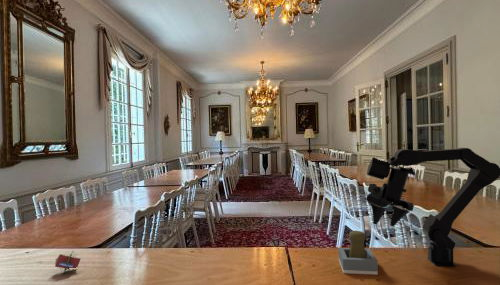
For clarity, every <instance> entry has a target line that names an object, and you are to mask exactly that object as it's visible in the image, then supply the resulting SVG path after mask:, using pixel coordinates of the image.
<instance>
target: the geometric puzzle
mask: <svg viewBox="0 0 500 285" xmlns="http://www.w3.org/2000/svg"><path fill="white" fill-rule="evenodd" d="M67 253H69V251H68V252H66V254H67ZM66 254H62V253H61V254H60V253H59V255H58V256H57V258H56V259H55V262H54V264H55V265H54V267H55V268H57V269H59V270H61V269H64V270H65V269H66V270H68V271H71V270H70V269H69V268H76V267H77V268H78V266H79V264H80V262H81V258H79V257H77V256H78V254H76V252H74V250H73V251H71V253H70V254H69V255H66ZM73 254H74V255H73ZM75 254H76V255H77V256H76V255H75ZM61 271H62V270H61Z"/></svg>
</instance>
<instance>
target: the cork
mask: <svg viewBox="0 0 500 285" xmlns="http://www.w3.org/2000/svg"><path fill="white" fill-rule="evenodd" d="M348 239H349V240H350V246H349V248H350V253H349V258H366V254H365V249H366V247H365V240H366V234H365V233H364V232H363V231H361V230H351V231H350V232H349V233H348Z"/></svg>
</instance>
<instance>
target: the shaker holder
mask: <svg viewBox="0 0 500 285" xmlns="http://www.w3.org/2000/svg"><path fill="white" fill-rule="evenodd" d="M349 253H350V247H338V261H339V265H340V267H341V270H342V273H343V274H354V275H355V274H356V275H379V273H378V272H379V270H378V269H379V268H378V267H379V266H378V265H379V263H378V262H379V261H378V259H377V258H376V255H375V254H374V253H373V252H372V250H371V248H365V254H366V258H349Z"/></svg>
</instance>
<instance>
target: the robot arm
mask: <svg viewBox="0 0 500 285" xmlns="http://www.w3.org/2000/svg"><path fill="white" fill-rule="evenodd" d="M459 160H460V161H461V162H462V163H463V164H464V165H465V166H466V167H468V168H469V169H470V170H469V171H468V173H467V177H466V181H465V183H463V184H462V186H461V187H460V188H459V189H458V190H457V191H456V193H455V194H454V195H453V197H452V198H451V199H450V200H449V201H448V203H447V204H446V205H445V206H444V207H443V209H442V210H441V211H440V212H439V213H437V214H436V215H434V214H432V213H429V215H428V216H427V218H426V219H425V220H424V221H422V224H423V225H422V232H423V234H424V235H425V236H426V237H427V238H428V239H429V241H431V242H429V246H428V248H427V251H428V252H427V259H428V260H429V261H430V262H431V263H432V264H433V265H434V266H438V267H439V266H440V267H441V266H442V267H456V266H457V264H456V263H454V249H455V246H456V242H455V241H454V240H452V239H451V238H450V237H449V235H450V233H451V230H452V227H453V224H454V222H455V221H456V219H457V218H458V217H459V216H460V214H461V213H463V211H464V210H465V209H466V208H467V207H468V206H469V204H470V203H471V202H472V201H473V199H474V198H475V197H476V196H477V195H478V193H479V192H480V191H481V190H482V189H484V188H486V187H489V185H492V184H493V183H494V182H495V181H497V180H498V179H499V178H500V166H499V164H497V163H495V162H490V161H489V160H487V159H485V158H484V157H482V156H481V155H479V154H477V153H476V152H475V151H473V150H472V149H471V148H468V147H459V148H447V149H433V150H432V149H430V150H418V149H417V150H415V149H406V148H400V149H398V150H396V151H395V152H394V154H393V156H392V157H390V158H389V159H387V160H382V159H379V158H377V157H372V158H371V160H370V162H369V165H368V166H367V170H366V176H369V177H372V178H375V179H378V180H385V179H386V178H387V182H383V184H382V186H378V185H377V184H376V183H369V185H368V187H367V192H368V194H367V195H366V198H365V201H366V202H367V204H369V205H370V207H371V211H372V223H373V224H374V225H375V226H376V225H377V224H378V223H379V222H380V220H381V218H382V217H383V215H384V214H385V211H386V210H387V208H386V207H387V206H388V205H390V206H391V208H392V214H391V220H390V226H391V227H395V225H396V224H398V223H399V222H400V221H401V220H402V218H404V217H405V216H406V215H407V214H409V213H410V212H413V210H414V207H415V205H414V204H413V202H411V201H409V200H406V199H404V198H402V197H403V193H407V189H406V188H405V187H406V183H407V181H408V177H409V175H412V176H416V173H415V171H414V170H413V167H411V166H414V165H415V166H416V165H418V164H421V163H426V162H439V161H440V162H441V161H442V162H443V161H444V162H445V161H459ZM403 166H404V167H403ZM396 167H397V168H396Z"/></svg>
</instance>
